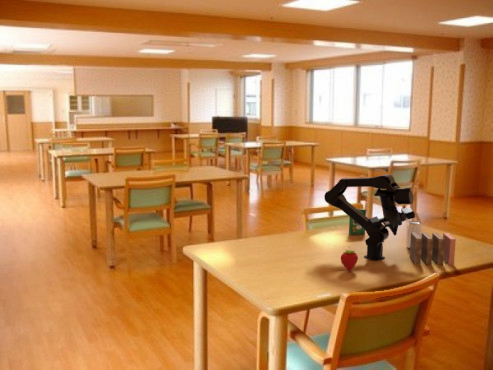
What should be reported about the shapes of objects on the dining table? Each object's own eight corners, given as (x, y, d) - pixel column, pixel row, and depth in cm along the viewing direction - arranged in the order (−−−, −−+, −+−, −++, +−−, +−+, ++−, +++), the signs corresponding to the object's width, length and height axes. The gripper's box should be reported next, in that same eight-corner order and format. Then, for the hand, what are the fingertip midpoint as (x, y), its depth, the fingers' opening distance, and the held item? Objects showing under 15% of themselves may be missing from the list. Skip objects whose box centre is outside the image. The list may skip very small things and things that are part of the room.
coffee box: (363, 233, 257) (363, 208, 255) (365, 234, 254) (366, 209, 252) (348, 234, 255) (349, 208, 253) (350, 235, 253) (351, 210, 251)
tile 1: (415, 264, 207) (416, 238, 205) (409, 256, 217) (411, 232, 215) (420, 264, 207) (421, 238, 205) (414, 257, 216) (415, 232, 215)
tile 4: (449, 265, 206) (450, 239, 204) (441, 257, 215) (443, 232, 214) (453, 265, 205) (455, 239, 204) (446, 257, 215) (448, 233, 214)
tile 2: (426, 264, 206) (428, 238, 205) (420, 257, 216) (421, 232, 214) (431, 264, 206) (433, 238, 204) (425, 257, 216) (426, 232, 214)
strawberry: (336, 270, 198) (337, 246, 197) (350, 267, 203) (350, 243, 201) (347, 275, 194) (348, 250, 192) (361, 271, 198) (361, 247, 196)
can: (418, 250, 226) (419, 224, 224) (404, 247, 230) (405, 222, 228) (422, 247, 231) (424, 221, 229) (409, 244, 235) (410, 220, 233)
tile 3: (437, 264, 206) (439, 238, 204) (431, 257, 216) (432, 232, 214) (442, 264, 206) (444, 239, 204) (435, 257, 216) (437, 232, 214)
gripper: (372, 218, 203) (379, 250, 209) (417, 205, 202) (423, 237, 207) (364, 206, 213) (372, 237, 219) (407, 194, 212) (413, 225, 218)
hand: (394, 235), depth 216 cm, fingers closed
